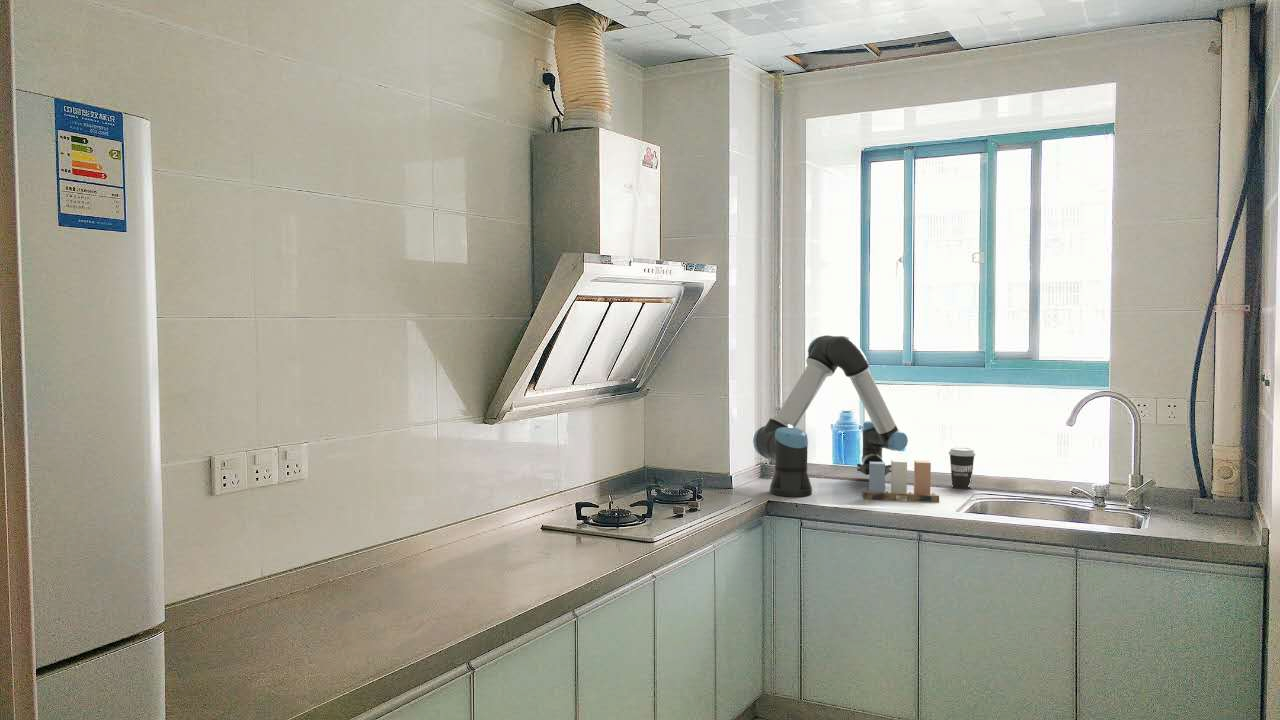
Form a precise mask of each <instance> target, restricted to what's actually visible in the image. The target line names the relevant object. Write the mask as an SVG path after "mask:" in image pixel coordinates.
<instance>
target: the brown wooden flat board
mask: <svg viewBox="0 0 1280 720" xmlns="http://www.w3.org/2000/svg"><path fill="white" fill-rule="evenodd" d="M861 492H862V493H861V494H862V496H863V499H864V500H868V501H869V500H870V501H891V502H892V501H895V502H919V503H920V502H921V503H940V494H936V493H935V492H932V493H930V495H922V494H914V492H907V494H895V493H891V491H886V490H885V493H869V490H868V491H867V490H862V491H861Z"/></svg>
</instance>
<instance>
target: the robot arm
mask: <svg viewBox="0 0 1280 720" xmlns="http://www.w3.org/2000/svg"><path fill="white" fill-rule="evenodd" d="M807 353H808V354H807V355H808V356H807V358H806V360H805V361H806V364H807V365H806V367H805V368H804V371H803V372H802V374H801V375H800V377H799V378H798V380H797V382H796V383H795V385H794V387H793V388H792V390H791V391H790V393H789V395H788V396H787V398H786V400H785V401H784V402H783V405H782V406H781V407H780V409H779V411H778V413H777V414H776V416H773V417H770V418H769V419H768V422H766V424H765V425H764V426H761V427H760V428H758V429H757V430H756V431H755V433H754V435H753V439H752V443H753V447H754V449H755V452H756V453H757V454H759V456H761V457H763V458H765V459H768V460H772V461H774V472H773V476H772V479H771V482H770V486H769V493H770V494H771V493H772V495H774V494H775V495H776V496H779V495H780V496H779V497H789V498H790V497H792V498H793V497H794V498H795V497H798V498H799V497H807V496H811V495H812V493H813V488H812V484H811V481H810V480H811V479H810V477H809V475H808V444H809V439H808V434H807V431H805V430H803V429H800V428H797V426H798V425H799V423H800V422H801V420H802V419H803V417H804V415H805V414H806V413H807V411H808V408H809V407H810V405H811V404H812V402H813V400H814V398H815V397H816V395H817V394H818V392H819V391H820V388H821V387H822V385H823V384H824V382H825V381H826V379H827V378H828V377H833V376H834V374H835V372H836V370H837V369H838V367H839V369H841V370H842V371H843V373H844V375H845V376H846V377H847V378H849V379H850V381H851V383H852V385H853V387H854V389H855V391H856V392H857V394H858V397H859V398H860V401H861V403H862V405H863V407H864V409H865V411H866V413H867V415H868V417H869V418H870V420H869V421H864V422H863V424H862V431H861V433H862V456H861V463H857V464H856V465H857V468H856V470H857V471H858V472H860V473H862V474H864V475H866V476H869V462H884V461H883V449H886V450H890V451H894V452H895V451H897V452H900V451H903V450H904V449H906V447H907V446H908V443H909V439H908V436H907V434H906V433H905V432H903V431H901V430H899V429H898V426H897V425H896V423H895V420H894V418H893V417H892V414H891V412H890V410H889V408H888V406H887V403H886V402H885V401H884V398H883V395H881V392H880V389H879V388H878V386H877V383H876V381H875V379H874V378H873V376H872V374H871V371H870V363H869V361H868V358H867V357H866V355H865V353H864V351H862V349H861V347H860V346H859V345H858V343H856V341H854V340H853V339H852V338H850V337H848V336H843V335H839V336H838V335H837V336H834V335H822V336H821V335H820V336H818V337H815V338H814V339H813V340H811V342H810V344H809V345H808V348H807ZM890 473H891V464H888V465H886V464H885V476H887V475H888V474H890ZM775 495H774V496H775Z"/></svg>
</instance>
